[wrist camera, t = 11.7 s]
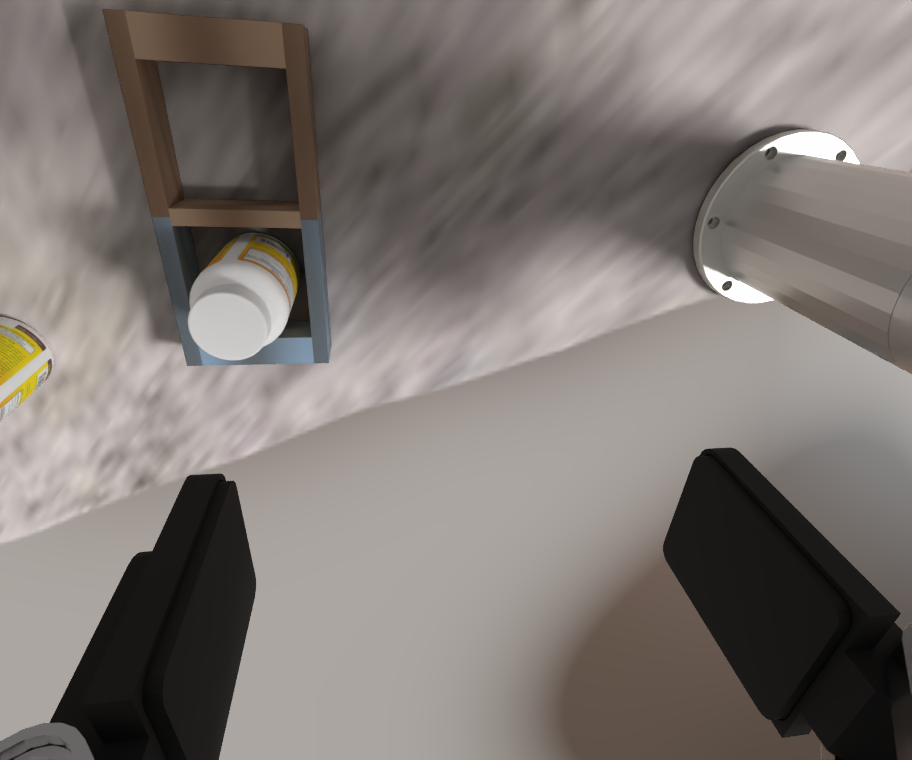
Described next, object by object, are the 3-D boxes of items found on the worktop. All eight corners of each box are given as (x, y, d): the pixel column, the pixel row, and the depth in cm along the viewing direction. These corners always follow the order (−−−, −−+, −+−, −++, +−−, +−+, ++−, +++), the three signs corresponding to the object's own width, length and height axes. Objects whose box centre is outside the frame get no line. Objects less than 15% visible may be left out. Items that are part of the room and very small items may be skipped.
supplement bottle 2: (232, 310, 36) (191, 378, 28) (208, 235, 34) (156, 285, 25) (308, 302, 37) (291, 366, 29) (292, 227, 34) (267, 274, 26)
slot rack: (307, 29, 29) (301, 24, 26) (331, 344, 39) (328, 362, 36) (127, 15, 27) (102, 9, 25) (199, 346, 37) (187, 365, 35)
